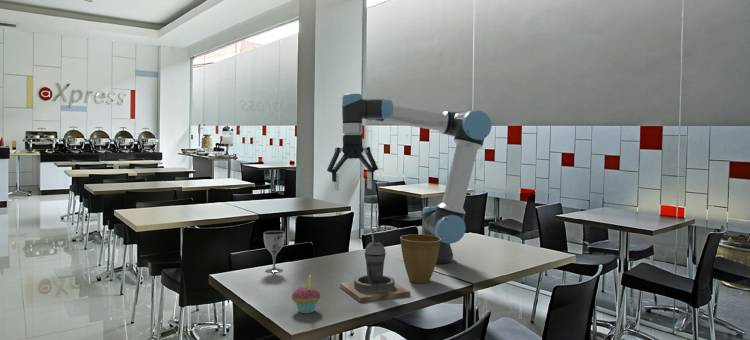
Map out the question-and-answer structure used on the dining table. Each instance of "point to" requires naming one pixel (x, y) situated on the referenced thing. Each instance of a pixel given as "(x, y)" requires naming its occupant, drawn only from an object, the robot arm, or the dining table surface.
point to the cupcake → (306, 298)
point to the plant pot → (420, 256)
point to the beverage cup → (375, 261)
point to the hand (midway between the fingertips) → (353, 189)
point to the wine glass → (274, 246)
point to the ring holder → (374, 289)
